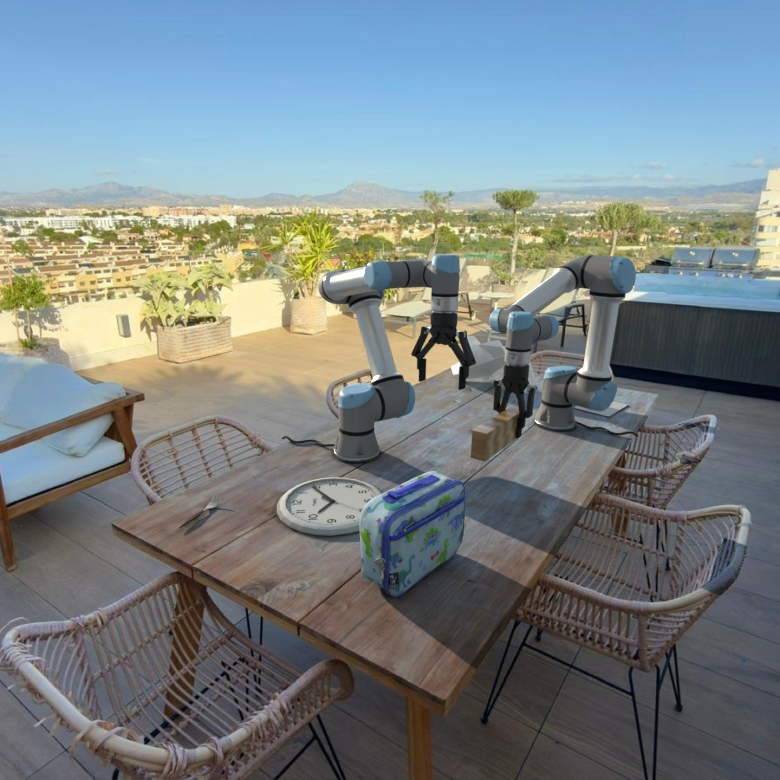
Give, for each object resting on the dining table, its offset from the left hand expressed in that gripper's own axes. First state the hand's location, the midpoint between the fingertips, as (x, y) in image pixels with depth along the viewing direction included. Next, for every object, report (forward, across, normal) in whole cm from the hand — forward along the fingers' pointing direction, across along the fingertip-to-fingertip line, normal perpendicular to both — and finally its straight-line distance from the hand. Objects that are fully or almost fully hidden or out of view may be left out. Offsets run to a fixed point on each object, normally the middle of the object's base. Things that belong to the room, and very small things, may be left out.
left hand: (441, 384), depth 152 cm
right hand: (+19, +13, +21) cm, 31 cm away
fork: (+29, -36, -58) cm, 75 cm away
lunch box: (+30, +20, -42) cm, 56 cm away
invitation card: (+29, +19, +101) cm, 107 cm away
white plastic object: (+28, -31, +96) cm, 105 cm away
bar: (+19, +13, +12) cm, 26 cm away
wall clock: (+29, -13, -33) cm, 46 cm away
